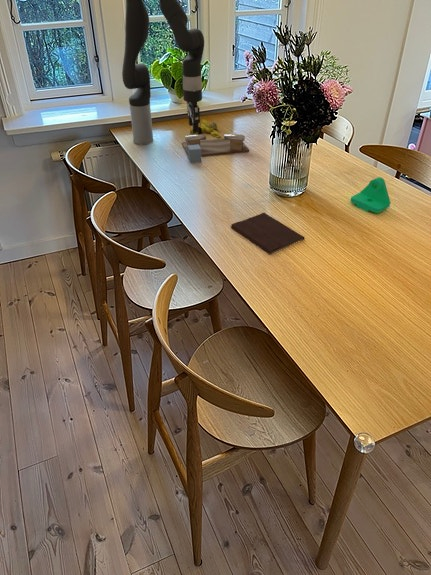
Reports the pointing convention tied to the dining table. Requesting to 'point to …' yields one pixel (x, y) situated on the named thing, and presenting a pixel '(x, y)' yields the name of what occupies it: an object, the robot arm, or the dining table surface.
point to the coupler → (194, 153)
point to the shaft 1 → (202, 137)
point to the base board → (217, 146)
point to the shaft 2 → (228, 136)
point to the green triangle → (373, 196)
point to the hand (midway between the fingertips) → (193, 128)
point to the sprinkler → (207, 129)
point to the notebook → (267, 233)
